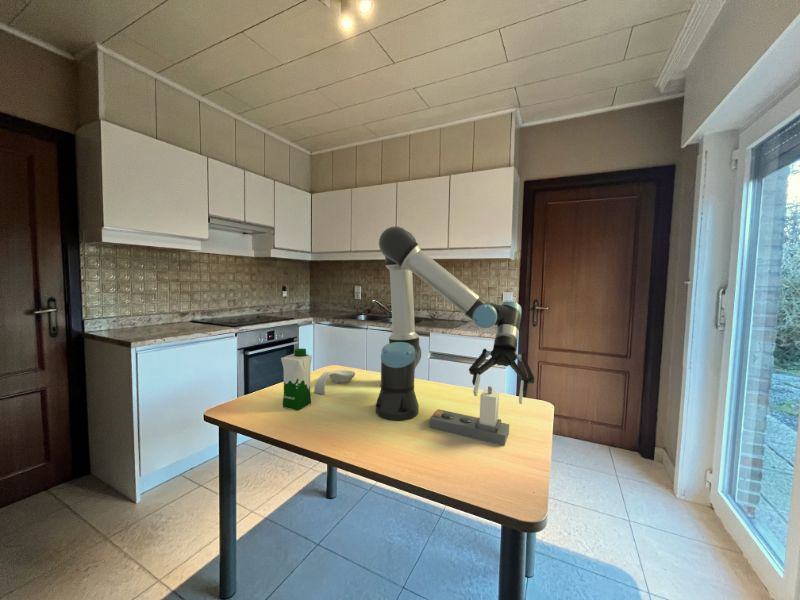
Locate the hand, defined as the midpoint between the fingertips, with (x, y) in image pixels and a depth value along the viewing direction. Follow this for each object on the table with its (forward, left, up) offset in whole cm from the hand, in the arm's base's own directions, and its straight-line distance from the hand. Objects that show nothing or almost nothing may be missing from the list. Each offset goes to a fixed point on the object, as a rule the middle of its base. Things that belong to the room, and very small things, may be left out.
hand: (496, 398), depth 103 cm
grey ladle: (-69, +10, -11) cm, 71 cm away
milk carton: (-68, -14, -11) cm, 70 cm away
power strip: (-8, -3, -11) cm, 14 cm away
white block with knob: (-2, -3, -8) cm, 9 cm away
